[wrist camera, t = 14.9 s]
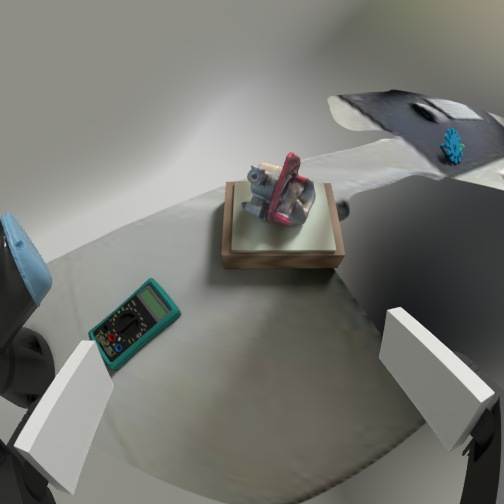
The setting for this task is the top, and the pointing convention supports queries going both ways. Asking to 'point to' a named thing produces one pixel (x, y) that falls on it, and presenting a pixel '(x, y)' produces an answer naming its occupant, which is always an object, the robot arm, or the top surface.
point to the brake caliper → (280, 193)
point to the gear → (453, 145)
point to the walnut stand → (280, 234)
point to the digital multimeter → (133, 324)
